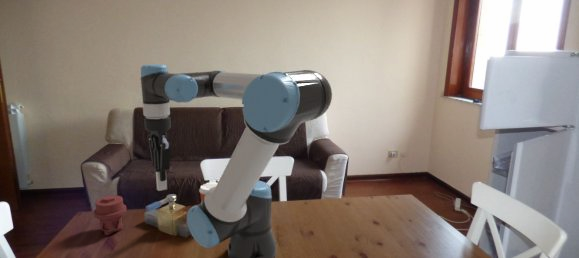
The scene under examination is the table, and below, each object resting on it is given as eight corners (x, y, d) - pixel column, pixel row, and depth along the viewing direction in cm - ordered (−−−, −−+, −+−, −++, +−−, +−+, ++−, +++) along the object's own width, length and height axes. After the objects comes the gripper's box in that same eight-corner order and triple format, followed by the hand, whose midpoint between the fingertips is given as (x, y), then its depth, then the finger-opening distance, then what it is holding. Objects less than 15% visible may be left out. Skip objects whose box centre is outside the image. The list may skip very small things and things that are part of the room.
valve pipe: (197, 230, 127) (195, 202, 124) (183, 239, 121) (181, 209, 119) (156, 217, 136) (154, 190, 134) (142, 224, 131) (139, 196, 128)
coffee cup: (195, 227, 129) (193, 187, 126) (211, 217, 136) (209, 180, 133) (214, 233, 125) (213, 192, 122) (229, 223, 133) (228, 184, 129)
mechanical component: (134, 225, 130) (115, 239, 121) (109, 222, 132) (89, 236, 123) (131, 193, 127) (112, 205, 118) (105, 190, 129) (85, 202, 120)
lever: (178, 199, 126) (178, 195, 126) (151, 212, 116) (150, 208, 116) (171, 197, 127) (171, 193, 127) (144, 210, 118) (143, 206, 117)
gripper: (178, 118, 108) (182, 192, 114) (160, 111, 118) (165, 180, 123) (153, 121, 103) (158, 199, 109) (136, 114, 113) (142, 185, 119)
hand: (162, 189), depth 116 cm, fingers closed
